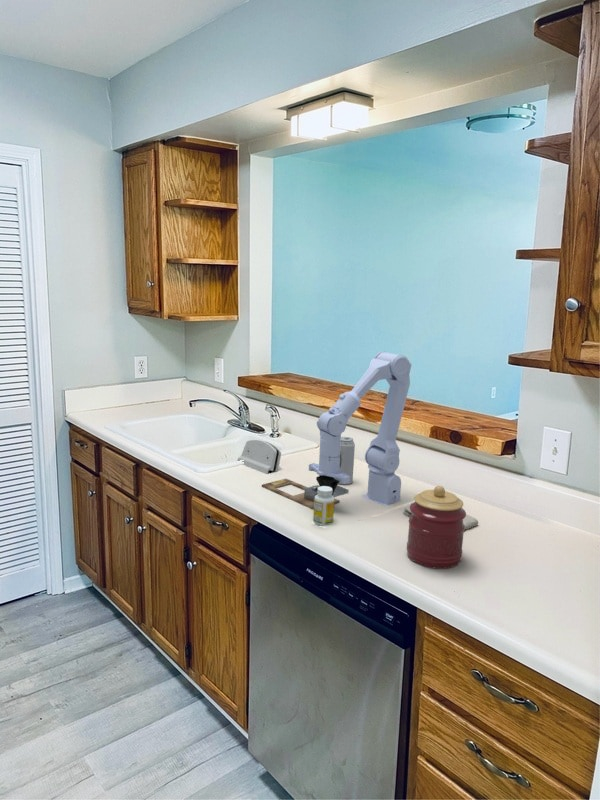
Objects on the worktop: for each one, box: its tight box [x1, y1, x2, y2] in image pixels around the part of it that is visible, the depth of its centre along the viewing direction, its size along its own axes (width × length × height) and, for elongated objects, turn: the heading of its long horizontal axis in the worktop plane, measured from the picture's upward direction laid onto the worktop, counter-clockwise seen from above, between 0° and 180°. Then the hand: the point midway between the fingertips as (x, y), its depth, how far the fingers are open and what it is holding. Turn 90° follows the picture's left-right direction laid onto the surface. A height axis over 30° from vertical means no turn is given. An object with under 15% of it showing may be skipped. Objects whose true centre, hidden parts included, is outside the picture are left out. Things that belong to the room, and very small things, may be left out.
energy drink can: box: [338, 436, 356, 486], centre depth 186 cm, size 6×6×15 cm
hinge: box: [236, 439, 282, 475], centre depth 202 cm, size 17×5×10 cm, turn 44°
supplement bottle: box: [312, 486, 335, 527], centre depth 156 cm, size 5×5×10 cm
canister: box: [406, 485, 467, 569], centre depth 137 cm, size 13×13×18 cm
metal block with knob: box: [303, 484, 320, 502], centre depth 170 cm, size 5×5×4 cm
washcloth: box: [403, 506, 479, 531], centre depth 161 cm, size 12×18×3 cm, turn 42°
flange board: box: [261, 478, 341, 511], centre depth 175 cm, size 24×10×2 cm, turn 42°
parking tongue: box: [333, 484, 350, 498], centre depth 179 cm, size 8×7×2 cm
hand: (327, 500), depth 166 cm, fingers closed
